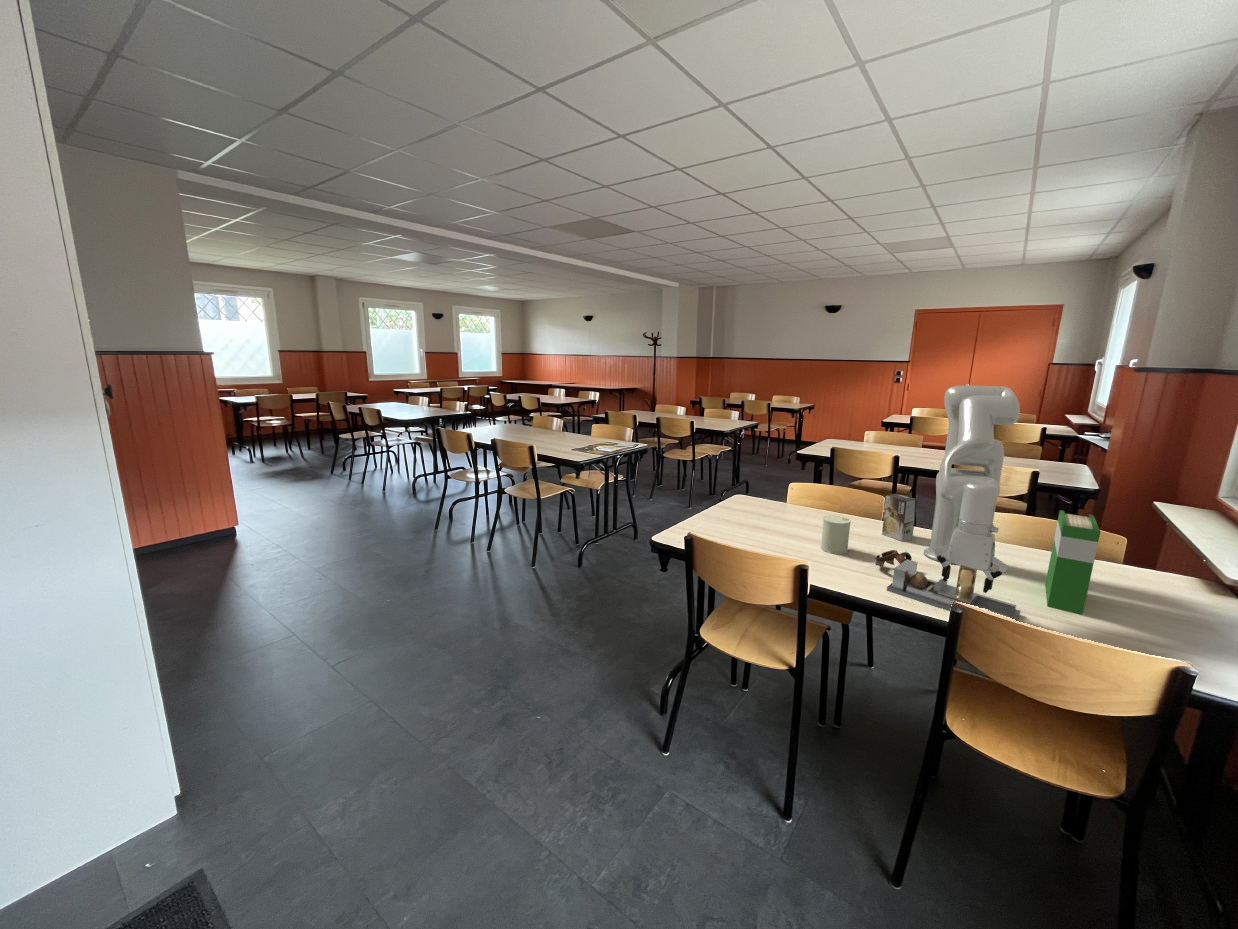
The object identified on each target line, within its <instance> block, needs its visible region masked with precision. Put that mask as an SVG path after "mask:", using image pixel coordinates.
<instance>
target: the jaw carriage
mask: <svg viewBox="0 0 1238 929" xmlns="http://www.w3.org/2000/svg"><path fill="white" fill-rule="evenodd" d="M958 568H959V569H958V575H957V582H956V587H955V586H952V585H949V584H948V580H949V579H948V580H947V581H943V578H941V579H939V580H938V581H936V582H937V583H936V584H935V585H934V591H933V593H935V594H938V595H941V596H944V597H948V598H951V599H954V600H957V601H960V602H964V603H967V604H970V605H974V603H975V602H976V601H977V599H978V594H979V593H977V592H974V590H975V585H976V577H977V572H978V570H976V569H972V568H968V567H965V566H961V565H959V567H958Z"/></svg>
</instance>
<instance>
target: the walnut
mask: <svg viewBox="0 0 1238 929" xmlns="http://www.w3.org/2000/svg"><path fill="white" fill-rule="evenodd" d="M927 579H928V578H927V577H926V576H925V575H924V574H921V573H916V574H914V575H913V576H912V577H911V584H912V585H913V586H914V587H915V588H919V589H923V588H925V587H926V586H927V584H928V580H927Z"/></svg>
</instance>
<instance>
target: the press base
mask: <svg viewBox="0 0 1238 929" xmlns="http://www.w3.org/2000/svg"><path fill="white" fill-rule="evenodd" d="M918 563H919V562H918V561H914V560H908V559H907V560H905V561H904V562H903V563H901V564H900V563H899V564H898V565H897V566H895V567H894V569H893V574H892V575H893V577H892V582H891V583H890V584H889V585H888V586H887V587H886V591H887V592H891V593H894V594H896V595H900V596H903V597H906V598H909V599H912V600H914V601H917V602H921V603H924V604H927V605H930V606H932V607H933V606H934V607H936V608H939V609H942V608H943V609H942V610H945V609H946V611H949V612H951V611H950V608H951V605H952V603H953V602H954V601H957V600H954V599H951V598H948V597H944V596H941V595H938V594H935V593H933V591H934V585H935V584H936V583H937V582H938V581H936V580H933V579H929V578H927V580H928V584H927V586H926V587H925V588H923V589H919V588H915V587H914V586H913V585H912V584H911V577H912V576H913V575H914V574H917V569H918ZM977 594H978V599H977V601H976V602H975V603H974V606H978V607H979V608H985V609H988V611H989V610H990V611H991V612H994V613H997V614H1000V615H1003V616H1006V617H1010V618H1012V619H1015V620H1016V621H1017V619H1019V618H1020V616H1021V610H1019V609H1016V608H1017V604H1013V603H1010V602H1006V601H1004V600H1000V599H997V598H994V597H989V596H986V595H984V594H980V593H977ZM957 602H960V601H957ZM962 603H964V602H962ZM966 604H967V603H966ZM1019 615H1020V616H1019Z"/></svg>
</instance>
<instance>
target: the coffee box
mask: <svg viewBox="0 0 1238 929" xmlns="http://www.w3.org/2000/svg"><path fill="white" fill-rule="evenodd" d="M917 503H918V499H917V498H916V497H911V496H908V495H904V494H900V493H891V494H887V495H886V496H885V504H884V512H883V521H882V522H883V523H882V532H881V535H883V536H887V537H890V538H892V539H894V540H896V541H901V542H906V541H910V540H913V537H914V528H915V519H916V511H917Z"/></svg>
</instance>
